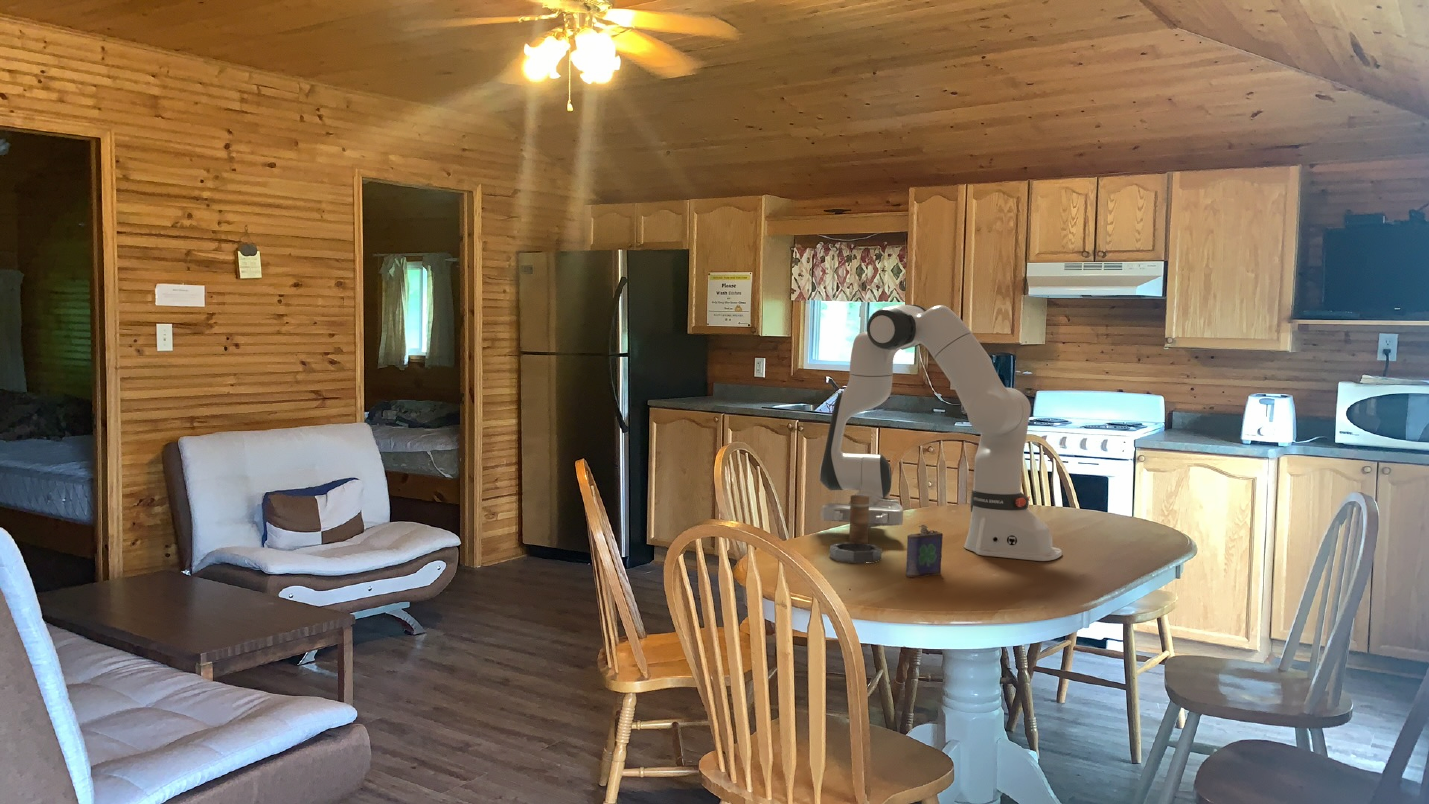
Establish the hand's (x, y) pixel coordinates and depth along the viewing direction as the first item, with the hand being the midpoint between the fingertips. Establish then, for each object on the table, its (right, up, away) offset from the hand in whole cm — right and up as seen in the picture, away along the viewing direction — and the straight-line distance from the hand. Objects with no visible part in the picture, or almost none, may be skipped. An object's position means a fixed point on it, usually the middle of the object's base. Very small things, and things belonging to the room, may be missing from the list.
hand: (859, 519), depth 258 cm
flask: (+10, -9, -30) cm, 32 cm away
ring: (-3, -7, -14) cm, 16 cm away
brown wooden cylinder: (0, -6, +1) cm, 7 cm away
